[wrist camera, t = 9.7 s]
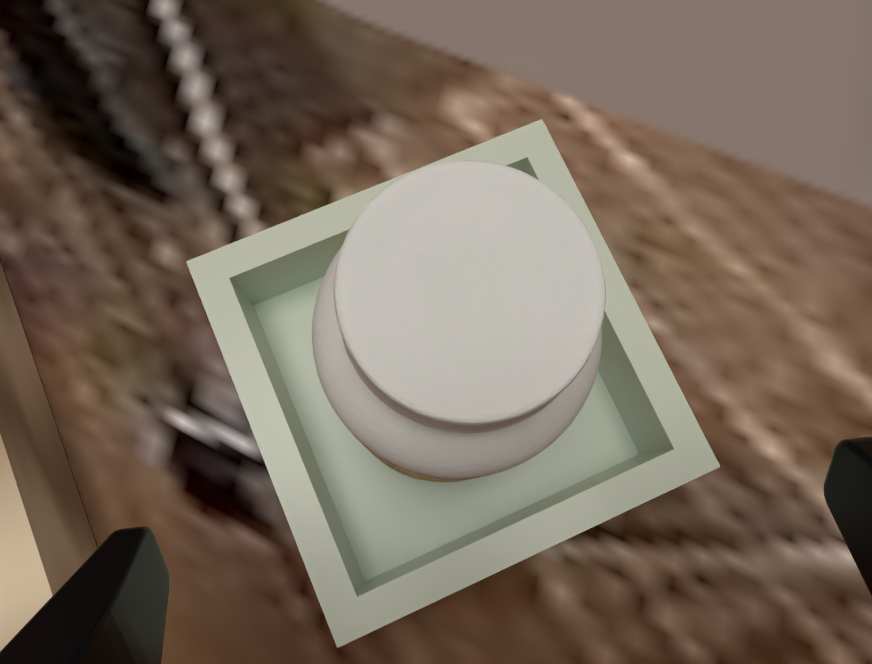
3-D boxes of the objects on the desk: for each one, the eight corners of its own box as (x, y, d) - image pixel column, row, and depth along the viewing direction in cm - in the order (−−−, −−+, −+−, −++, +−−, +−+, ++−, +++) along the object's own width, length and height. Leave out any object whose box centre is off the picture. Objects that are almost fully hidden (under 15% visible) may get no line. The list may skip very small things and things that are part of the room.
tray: (668, 470, 20) (720, 466, 17) (351, 619, 19) (336, 647, 16) (522, 176, 22) (541, 118, 19) (223, 298, 21) (186, 261, 18)
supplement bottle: (406, 520, 19) (398, 553, 10) (308, 346, 20) (213, 223, 11) (577, 416, 20) (726, 353, 10) (476, 253, 21) (527, 58, 11)
